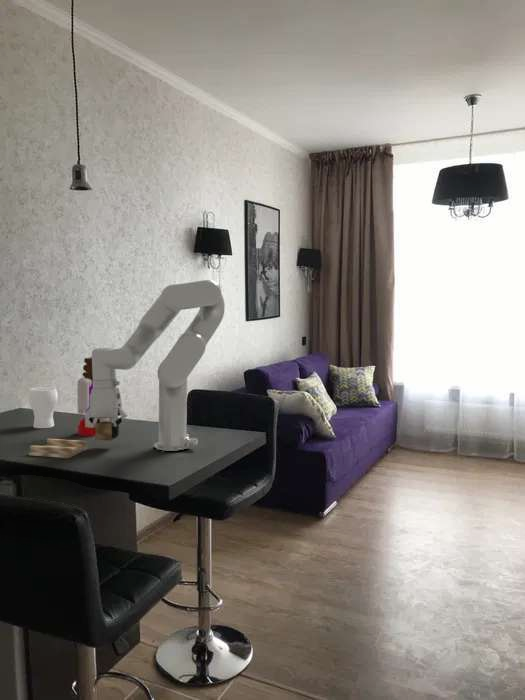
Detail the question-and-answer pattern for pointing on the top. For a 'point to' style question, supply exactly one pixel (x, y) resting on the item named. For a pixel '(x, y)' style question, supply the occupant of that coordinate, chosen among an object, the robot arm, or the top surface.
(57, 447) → the board
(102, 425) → the walnut block
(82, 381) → the toy
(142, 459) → the top surface
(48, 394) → the cup
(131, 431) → the top surface
